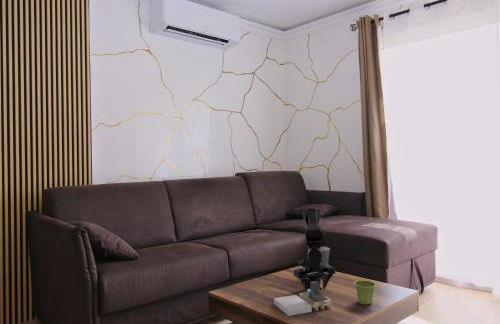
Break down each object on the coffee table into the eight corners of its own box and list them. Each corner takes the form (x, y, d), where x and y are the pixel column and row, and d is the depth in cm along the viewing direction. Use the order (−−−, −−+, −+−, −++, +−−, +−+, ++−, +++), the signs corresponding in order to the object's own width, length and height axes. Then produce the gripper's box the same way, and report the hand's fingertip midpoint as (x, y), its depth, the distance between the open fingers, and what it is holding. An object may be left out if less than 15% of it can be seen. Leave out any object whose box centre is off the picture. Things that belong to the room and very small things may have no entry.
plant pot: (377, 300, 186) (377, 281, 186) (374, 307, 177) (374, 287, 177) (356, 297, 190) (356, 279, 190) (352, 304, 181) (352, 285, 181)
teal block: (313, 294, 188) (313, 288, 188) (317, 296, 186) (316, 290, 185) (306, 296, 187) (306, 289, 187) (309, 298, 184) (309, 291, 184)
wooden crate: (316, 298, 191) (316, 277, 191) (331, 307, 179) (331, 285, 178) (299, 300, 188) (299, 279, 188) (313, 311, 175) (313, 288, 175)
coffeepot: (319, 271, 233) (318, 240, 232) (334, 273, 228) (334, 241, 227) (307, 278, 220) (307, 245, 219) (324, 281, 215) (323, 247, 214)
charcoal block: (321, 299, 182) (320, 292, 182) (324, 301, 179) (324, 295, 179) (313, 300, 181) (313, 294, 181) (316, 303, 178) (316, 296, 178)
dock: (295, 300, 188) (295, 294, 188) (311, 311, 174) (311, 306, 174) (274, 303, 184) (274, 298, 184) (288, 315, 170) (288, 310, 170)
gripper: (323, 250, 194) (323, 282, 194) (287, 254, 187) (288, 287, 187) (335, 255, 183) (336, 289, 183) (299, 260, 177) (299, 295, 177)
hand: (314, 290), depth 183 cm, fingers open, 9 cm apart
